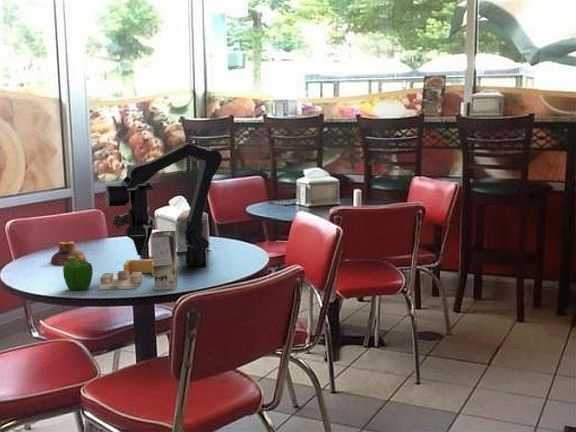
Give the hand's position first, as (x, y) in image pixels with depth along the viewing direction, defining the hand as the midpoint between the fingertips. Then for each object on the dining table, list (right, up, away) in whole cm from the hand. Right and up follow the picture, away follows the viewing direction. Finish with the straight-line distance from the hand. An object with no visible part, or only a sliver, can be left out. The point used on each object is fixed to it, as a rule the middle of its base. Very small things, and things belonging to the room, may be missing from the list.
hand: (142, 252), depth 229 cm
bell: (-30, -5, +19) cm, 35 cm away
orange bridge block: (0, -7, -1) cm, 7 cm away
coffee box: (+11, -10, -16) cm, 22 cm away
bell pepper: (-15, -10, -17) cm, 25 cm away
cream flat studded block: (-3, -9, -13) cm, 16 cm away
